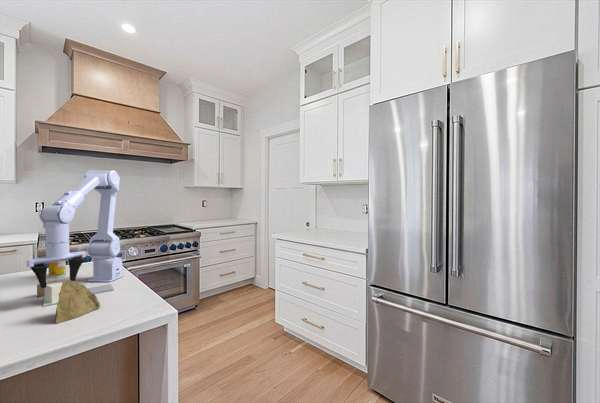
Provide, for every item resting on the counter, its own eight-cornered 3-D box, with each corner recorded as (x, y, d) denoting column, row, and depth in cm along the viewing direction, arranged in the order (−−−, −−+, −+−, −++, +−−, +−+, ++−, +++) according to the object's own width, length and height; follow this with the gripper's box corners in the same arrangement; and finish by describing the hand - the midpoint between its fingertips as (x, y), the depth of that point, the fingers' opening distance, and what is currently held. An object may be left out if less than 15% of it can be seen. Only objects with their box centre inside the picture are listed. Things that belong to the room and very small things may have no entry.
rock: (102, 295, 87) (62, 297, 81) (105, 278, 83) (62, 279, 77) (97, 327, 79) (51, 331, 74) (99, 310, 75) (51, 313, 70)
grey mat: (110, 285, 103) (110, 284, 103) (113, 290, 97) (113, 289, 97) (87, 289, 98) (87, 288, 98) (89, 295, 93) (89, 293, 93)
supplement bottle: (45, 277, 111) (44, 253, 111) (60, 273, 116) (59, 251, 116) (54, 278, 110) (53, 254, 109) (69, 274, 115) (68, 252, 114)
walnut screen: (71, 289, 98) (71, 278, 98) (72, 291, 96) (72, 280, 96) (37, 295, 92) (37, 283, 92) (36, 297, 90) (36, 286, 90)
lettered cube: (64, 294, 91) (63, 280, 91) (71, 297, 89) (71, 282, 89) (44, 300, 87) (44, 284, 87) (52, 303, 85) (51, 287, 84)
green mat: (72, 294, 93) (72, 293, 93) (73, 300, 88) (73, 299, 88) (44, 299, 88) (44, 298, 88) (43, 306, 83) (43, 305, 83)
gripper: (78, 237, 96) (78, 275, 96) (21, 244, 83) (22, 288, 83) (88, 239, 92) (89, 278, 93) (31, 247, 79) (32, 292, 80)
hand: (58, 283), depth 88 cm, fingers open, 7 cm apart
